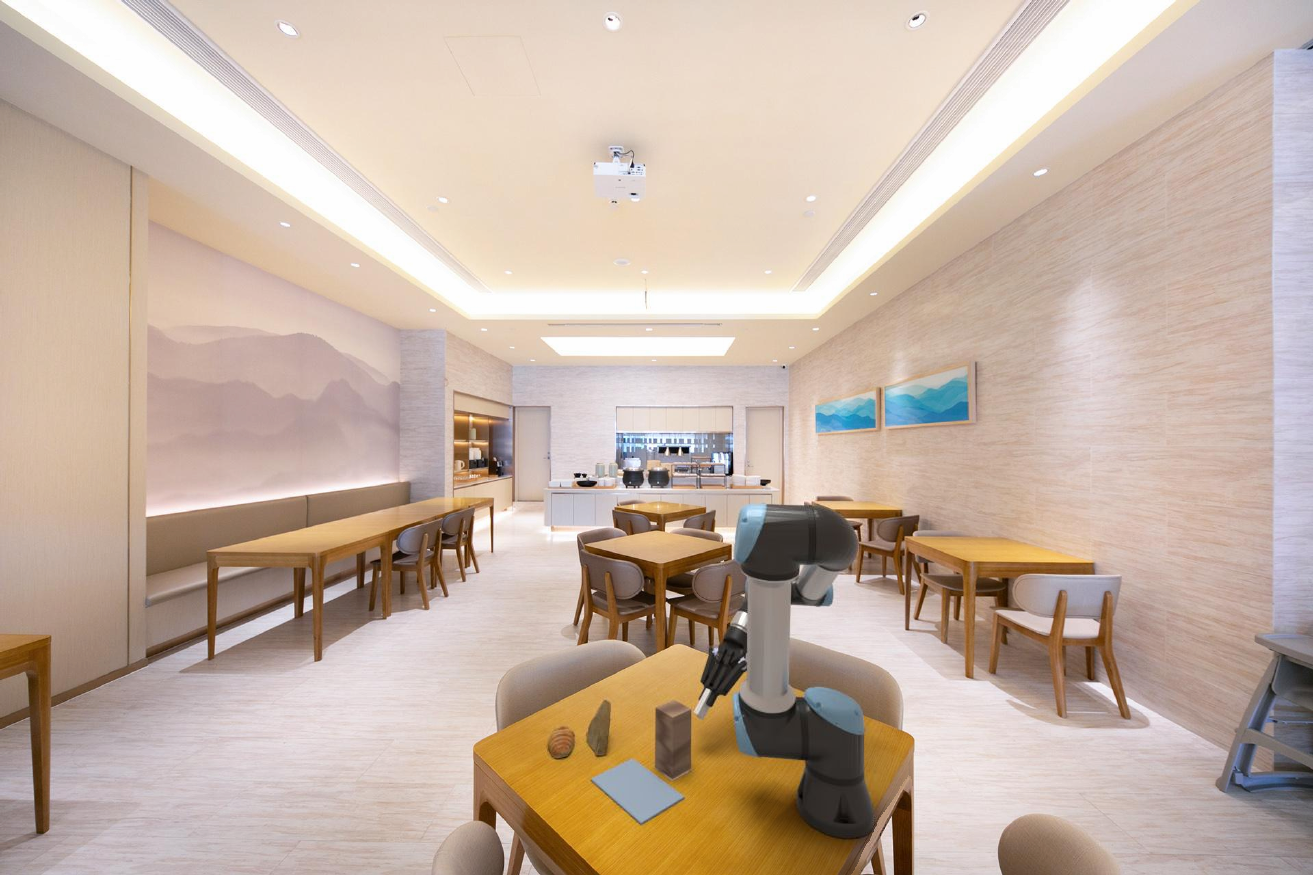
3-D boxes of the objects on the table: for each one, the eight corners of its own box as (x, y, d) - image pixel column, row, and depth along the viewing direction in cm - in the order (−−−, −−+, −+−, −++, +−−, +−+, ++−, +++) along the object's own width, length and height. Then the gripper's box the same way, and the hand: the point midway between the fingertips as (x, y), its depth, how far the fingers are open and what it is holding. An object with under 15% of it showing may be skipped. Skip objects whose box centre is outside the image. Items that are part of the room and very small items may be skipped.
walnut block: (691, 770, 116) (691, 709, 116) (672, 780, 112) (672, 717, 112) (673, 758, 120) (674, 699, 121) (654, 768, 116) (655, 707, 117)
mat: (684, 798, 106) (684, 796, 106) (641, 824, 98) (641, 822, 98) (632, 759, 119) (632, 758, 119) (590, 780, 111) (590, 778, 111)
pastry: (575, 759, 120) (575, 742, 120) (546, 762, 119) (546, 745, 119) (574, 738, 129) (574, 722, 129) (548, 740, 128) (548, 725, 128)
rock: (615, 750, 119) (626, 723, 129) (594, 721, 120) (607, 696, 130) (582, 770, 122) (596, 743, 131) (562, 741, 122) (577, 716, 132)
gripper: (767, 647, 131) (725, 734, 119) (729, 634, 140) (687, 713, 129) (754, 631, 127) (710, 719, 116) (717, 619, 137) (672, 698, 126)
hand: (698, 716), depth 122 cm, fingers closed
